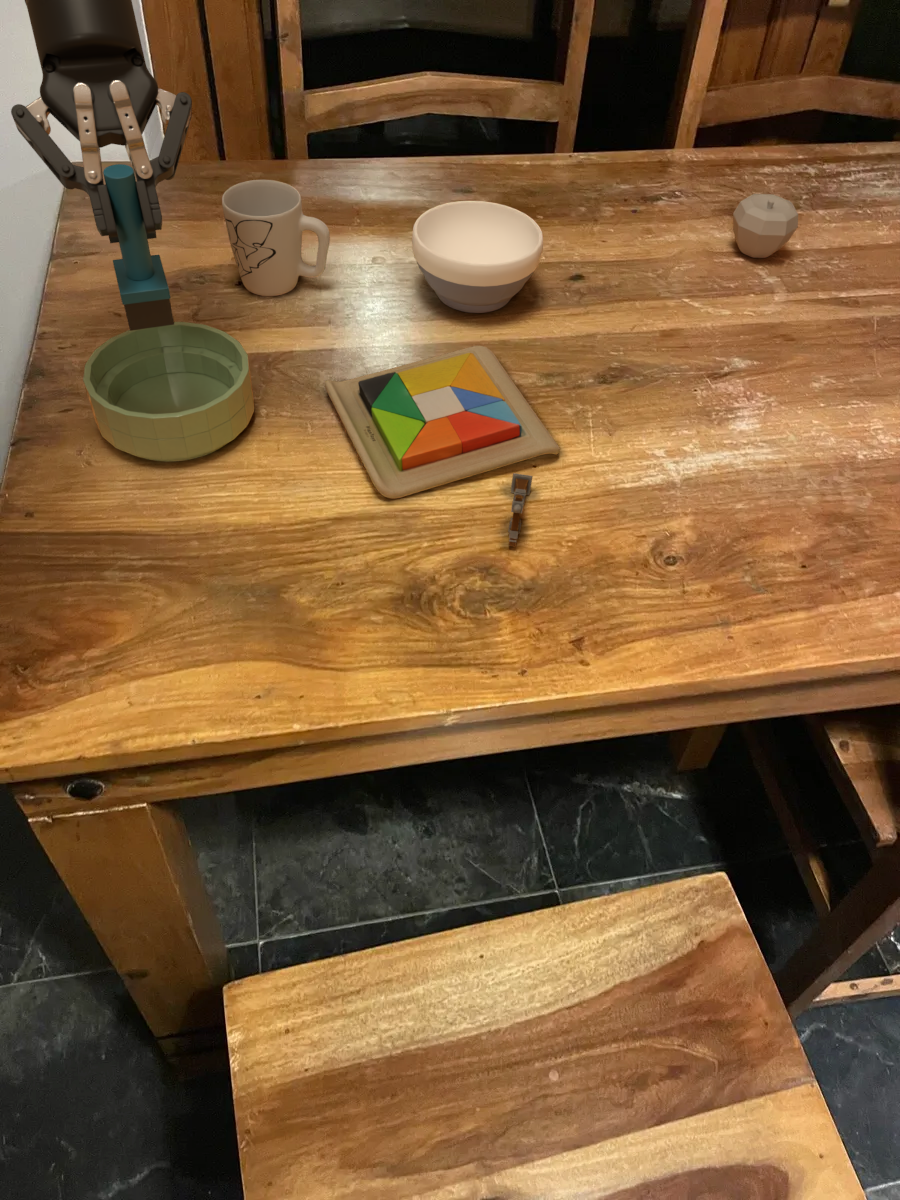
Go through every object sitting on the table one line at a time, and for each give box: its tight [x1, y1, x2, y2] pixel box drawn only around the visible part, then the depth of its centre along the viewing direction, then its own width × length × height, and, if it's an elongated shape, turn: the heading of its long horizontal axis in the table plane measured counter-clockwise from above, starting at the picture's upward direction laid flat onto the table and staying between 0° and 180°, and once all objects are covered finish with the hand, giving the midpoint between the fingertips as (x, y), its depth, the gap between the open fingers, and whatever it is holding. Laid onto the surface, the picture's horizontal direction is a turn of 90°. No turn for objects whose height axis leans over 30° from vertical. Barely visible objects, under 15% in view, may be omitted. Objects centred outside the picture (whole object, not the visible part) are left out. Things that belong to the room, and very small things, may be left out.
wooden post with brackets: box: [507, 472, 533, 547], centre depth 83 cm, size 2×8×4 cm, turn 171°
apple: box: [732, 193, 799, 259], centre depth 115 cm, size 8×8×7 cm
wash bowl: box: [82, 321, 255, 462], centre depth 89 cm, size 15×15×6 cm
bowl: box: [411, 200, 544, 314], centre depth 105 cm, size 14×14×8 cm
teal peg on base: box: [102, 163, 175, 331], centre depth 74 cm, size 5×4×12 cm
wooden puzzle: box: [324, 345, 561, 499], centre depth 91 cm, size 18×19×4 cm
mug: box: [221, 179, 331, 297], centre depth 104 cm, size 11×8×10 cm
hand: (133, 236), depth 71 cm, fingers closed on teal peg on base, 2 cm apart
